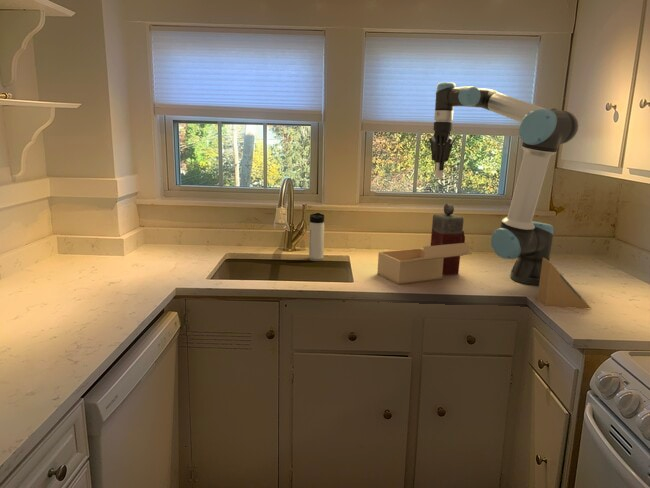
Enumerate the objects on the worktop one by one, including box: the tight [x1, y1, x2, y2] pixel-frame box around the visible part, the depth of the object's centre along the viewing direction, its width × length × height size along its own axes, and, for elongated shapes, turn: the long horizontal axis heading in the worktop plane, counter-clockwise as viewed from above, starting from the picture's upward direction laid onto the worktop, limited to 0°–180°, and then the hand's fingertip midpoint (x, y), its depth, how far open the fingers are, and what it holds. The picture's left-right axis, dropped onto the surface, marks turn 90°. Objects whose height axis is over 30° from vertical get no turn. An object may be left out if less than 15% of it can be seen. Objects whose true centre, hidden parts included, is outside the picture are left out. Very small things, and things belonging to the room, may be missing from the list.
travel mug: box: [308, 212, 325, 262], centre depth 213 cm, size 6×7×20 cm
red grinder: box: [430, 203, 466, 276], centre depth 199 cm, size 9×11×28 cm
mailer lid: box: [400, 242, 472, 263], centre depth 179 cm, size 15×20×4 cm
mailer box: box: [376, 247, 444, 286], centre depth 193 cm, size 15×20×9 cm
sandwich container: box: [537, 258, 592, 309], centre depth 167 cm, size 9×15×15 cm, turn 83°
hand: (438, 177), depth 212 cm, fingers closed
